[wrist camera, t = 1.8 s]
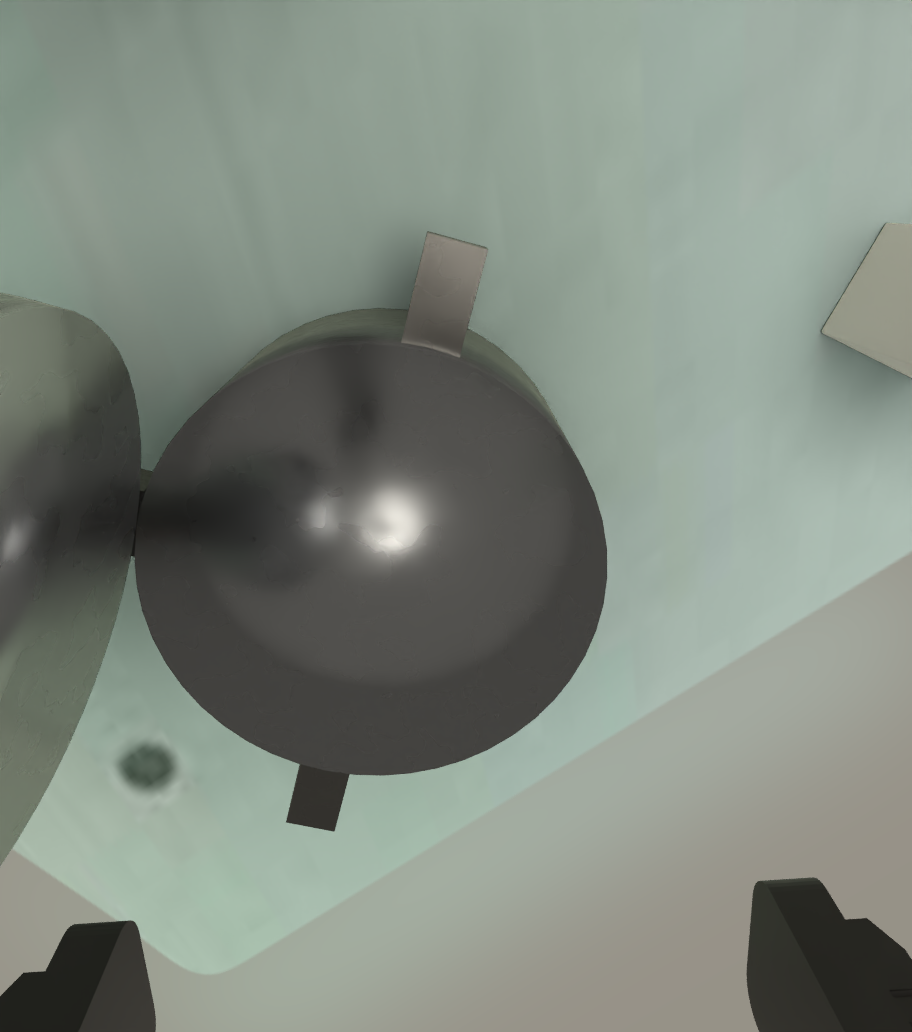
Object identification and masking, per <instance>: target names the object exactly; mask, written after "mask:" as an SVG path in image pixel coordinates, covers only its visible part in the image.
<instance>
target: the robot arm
mask: <svg viewBox="0 0 912 1032" xmlns="http://www.w3.org/2000/svg"><path fill="white" fill-rule="evenodd" d="M752 900H753V901H752V913H751V924H750V936H749V950H748V961H747V986H748V994H749V999H750V1004H751V1008H752V1012H753V1015H754V1018H755V1021H756V1025H757V1027H758V1030H759V1032H912V959H911V958H910V957H909V955H908V953H907V952H906V950H905V949H904V948H902V947H901V946H900V945H899V944H898V943H896V942H895V941H894V940H893V939H892V938H890V937H889V936H888V935H887V934H885V933H884V932H883V931H882V930H881V929H879V928H878V927H877V926H876V925H875V924H873V923H872V922H871V921H870V920H868V919H867V918H863V919H848V920H845V919H844V917H843V915H842V914H841V912H840V910H839V909H838V907H837V906H836V904H835V902H834V901H833V899H832V898H831V896H830V894H829V893H828V891H827V890H826V888H825V886H824V885H823V884H822V883H821V882H820V880H818V879H817V878H798V879H783V880H768V881H758V882H757V883H756V885H755V886H754V890H753V899H752ZM155 1030H156V1018H155V1009H154V1003H153V999H152V994H151V989H150V983H149V979H148V974H147V969H146V964H145V959H144V954H143V949H142V944H141V939H140V934H139V930H138V927H137V925H136V923H135V922H134V921H117V922H104V923H103V922H102V923H87V924H74V925H72V926H70V927H69V928H68V929H67V931H66V932H65V934H64V936H63V937H62V939H61V941H60V943H59V945H58V947H57V949H56V951H55V953H54V955H53V957H52V959H51V961H50V963H49V965H48V967H47V969H46V971H44V972H29V973H23V974H22V975H21V976H20V977H19V978H18V979H17V980H16V981H15V982H14V983H13V984H12V985H11V986H10V987H9V988H8V989H7V990H6V991H5V992H4V993H3V994H2V995H1V996H0V1032H155Z"/></svg>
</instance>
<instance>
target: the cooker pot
mask: <svg viewBox="0 0 912 1032" xmlns="http://www.w3.org/2000/svg"><path fill="white" fill-rule="evenodd" d="M487 252H488V249H487V248H486V247H484V246H480V245H476V244H473V243H469V242H465V241H462V240H458V239H454V238H451V237H447V236H444V235H440V234H436V233H433V232H429V231H427V235H426V239H425V244H424V248H423V252H422V256H421V260H420V265H419V269H418V273H417V277H416V281H415V285H414V290H413V294H412V298H411V302H410V306H409V310H401V309H385V308H375V309H362V310H352V311H347V312H342V313H338V314H333V315H328V316H325V317H323V318H320V319H317V320H314V321H312V322H309V323H306V324H304V325H302V326H300V327H298V328H296V329H294V330H292V331H290V332H288V333H286V334H284V335H283V336H281V337H280V338H278V339H277V340H275V341H274V342H273V343H271V344H270V345H268V346H267V347H266V348H264V349H263V350H261V351H260V352H259V353H258V354H257V355H256V356H255V357H254V358H253V359H252V360H251V361H250V362H249V363H248V364H247V365H245V366H244V367H243V368H242V369H241V370H240V371H239V372H238V373H237V374H236V375H235V376H234V377H233V378H232V379H231V380H230V381H228V382H227V383H226V384H225V385H224V386H223V387H222V388H221V389H220V390H219V391H218V392H217V393H216V394H215V395H214V396H212V397H211V398H210V399H209V400H208V401H207V402H206V403H205V404H204V405H203V406H202V407H201V408H200V409H199V410H198V411H197V412H196V413H195V414H194V415H193V416H191V417H190V418H189V419H188V420H187V422H186V423H185V424H184V425H183V427H182V428H181V429H180V430H179V432H178V433H177V434H176V436H175V437H174V438H173V439H172V441H171V442H170V443H169V445H168V446H167V448H166V450H165V452H164V453H163V455H162V457H161V459H160V460H159V462H158V464H157V466H156V467H155V469H154V471H153V472H152V471H148V470H144V469H141V477H140V493H139V505H138V513H137V521H136V529H135V535H134V541H133V547H132V553H131V556H135V569H136V583H137V588H138V593H139V597H140V602H141V606H142V611H143V614H144V617H145V619H146V622H147V625H148V627H149V630H150V633H151V635H152V638H153V640H154V642H155V644H156V646H157V647H158V649H159V651H160V653H161V655H162V657H163V659H164V661H165V662H166V664H167V665H168V667H169V668H170V670H171V671H172V672H173V674H174V675H175V677H176V678H177V679H178V681H179V682H180V684H181V685H182V686H183V687H184V688H185V690H186V691H187V692H188V693H189V694H190V695H191V696H192V697H193V698H194V699H195V700H196V701H197V703H198V704H199V705H200V706H201V707H202V708H203V709H205V710H206V711H207V712H208V713H209V714H210V715H212V716H213V717H214V718H215V719H216V720H218V721H219V722H220V723H221V724H222V725H224V726H225V727H227V728H228V729H230V730H231V731H233V732H234V733H236V734H237V735H239V736H240V737H242V738H243V739H245V740H246V741H248V742H250V743H252V744H254V745H256V746H258V747H260V748H262V749H264V750H266V751H268V752H270V753H272V754H274V755H277V756H279V757H282V758H285V759H287V760H290V761H293V762H295V763H298V764H300V766H299V770H298V774H297V778H296V782H295V787H294V791H293V795H292V799H291V803H290V808H289V812H288V816H287V821H286V822H287V823H292V824H298V825H303V826H308V827H313V828H319V829H324V830H329V831H335V827H336V823H337V819H338V816H339V812H340V808H341V804H342V800H343V797H344V793H345V789H346V785H347V782H348V778H349V774H353V775H394V774H407V773H414V772H419V771H425V770H430V769H435V768H439V767H443V766H446V765H449V764H452V763H456V762H459V761H462V760H465V759H467V758H469V757H472V756H474V755H476V754H479V753H481V752H483V751H486V750H488V749H490V748H492V747H493V746H495V745H497V744H499V743H500V742H502V741H504V740H505V739H507V738H509V737H511V736H512V735H514V734H515V733H516V732H518V731H519V730H520V729H522V728H523V727H524V726H526V725H527V724H528V723H530V722H531V721H532V720H534V719H535V718H536V717H537V716H538V715H539V714H540V713H541V712H542V711H543V710H544V709H545V708H546V707H547V706H548V705H549V704H550V703H551V702H552V701H554V699H555V698H556V697H557V696H558V694H559V693H560V692H561V691H562V689H563V688H564V687H565V686H566V684H567V683H568V682H569V681H570V679H571V678H572V676H573V675H574V673H575V671H576V670H577V668H578V667H579V665H580V663H581V662H582V660H583V658H584V657H585V655H586V652H587V650H588V648H589V646H590V643H591V641H592V639H593V636H594V634H595V632H596V629H597V625H598V622H599V618H600V615H601V611H602V608H603V604H604V596H605V589H606V581H607V547H606V540H605V534H604V527H603V521H602V517H601V514H600V511H599V507H598V504H597V501H596V497H595V494H594V492H593V489H592V487H591V485H590V483H589V481H588V479H587V477H586V474H585V472H584V470H583V468H582V466H581V464H580V462H579V460H578V459H577V457H576V455H575V453H574V451H573V449H572V448H571V446H570V444H569V442H568V440H567V439H566V437H565V435H564V433H563V431H562V429H561V428H560V426H559V424H558V422H557V420H556V419H555V417H554V415H553V413H552V411H551V409H550V408H549V406H548V404H547V402H546V401H545V399H544V398H543V396H542V395H541V393H540V392H539V390H538V389H537V387H536V386H535V384H534V383H533V382H532V380H531V379H530V378H529V377H528V376H527V375H526V373H525V372H524V371H523V370H522V369H521V368H520V366H519V365H518V364H517V363H515V362H514V361H513V360H512V359H511V358H510V357H509V356H508V355H506V354H505V353H504V352H503V351H502V350H501V349H500V348H498V347H497V346H495V345H494V344H492V343H491V342H489V341H488V340H486V339H485V338H483V337H482V336H480V335H479V334H477V333H475V332H473V331H471V330H469V329H467V327H468V324H469V320H470V316H471V312H472V309H473V305H474V301H475V297H476V293H477V290H478V286H479V282H480V278H481V275H482V271H483V267H484V263H485V259H486V256H487Z"/></svg>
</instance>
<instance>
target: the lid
mask: <svg viewBox="0 0 912 1032" xmlns="http://www.w3.org/2000/svg"><path fill="white" fill-rule="evenodd" d="M140 477H141V440H140V428H139V417H138V411H137V405H136V399H135V394H134V390H133V387H132V383H131V380H130V377H129V373H128V370H127V368H126V366H125V364H124V361H123V359H122V357H121V355H120V353H119V351H118V349H117V348H116V346H115V345H114V343H113V342H112V341H111V339H110V338H109V336H108V335H107V334H106V333H105V332H104V331H103V330H102V329H101V328H100V327H99V326H98V325H97V324H95V323H94V322H93V321H92V320H90V319H88V318H86V317H84V316H82V315H80V314H79V313H77V312H75V311H71V310H67V309H64V308H60V307H56V306H53V305H49V304H45V303H42V302H38V301H34V300H31V299H27V298H23V297H19V296H14V295H10V294H5V293H0V866H1V864H2V863H3V861H4V860H5V858H6V857H7V855H8V854H9V852H10V851H11V849H12V848H13V846H14V845H15V843H16V842H17V840H18V838H19V837H20V835H21V833H22V832H23V830H24V828H25V827H26V825H27V823H28V821H29V820H30V818H31V816H32V815H33V813H34V811H35V810H36V808H37V806H38V804H39V802H40V800H41V799H42V797H43V795H44V793H45V791H46V789H47V787H48V786H49V784H50V782H51V780H52V778H53V776H54V774H55V772H56V770H57V768H58V766H59V764H60V762H61V760H62V758H63V756H64V754H65V752H66V750H67V747H68V745H69V743H70V741H71V739H72V736H73V734H74V732H75V730H76V727H77V725H78V723H79V720H80V718H81V716H82V714H83V711H84V709H85V706H86V704H87V701H88V698H89V696H90V693H91V691H92V688H93V686H94V683H95V681H96V678H97V675H98V672H99V669H100V666H101V664H102V661H103V658H104V655H105V652H106V649H107V646H108V643H109V640H110V636H111V633H112V630H113V627H114V623H115V620H116V617H117V613H118V609H119V605H120V601H121V598H122V594H123V590H124V586H125V581H126V577H127V572H128V568H129V563H130V558H131V553H132V547H133V541H134V535H135V529H136V521H137V513H138V505H139V493H140Z"/></svg>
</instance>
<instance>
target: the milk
mask: <svg viewBox="0 0 912 1032" xmlns="http://www.w3.org/2000/svg"><path fill="white" fill-rule="evenodd" d="M822 333H823V334H825V335H827V336H829V337H831V338H833V339H835V340H837V341H839V342H841V343H843V344H845V345H847V346H849V347H851V348H853V349H855V350H857V351H859V352H861V353H863V354H865V355H867V356H869V357H871V358H873V359H875V360H877V361H879V362H881V363H883V364H884V365H886V366H888V367H890V368H892V369H894V370H896V371H898V372H900V373H902V374H904V375H906V376H908V377H910V378H912V224H899V223H886V224H885V226H884V227H883V229H882V230H881V232H880V234H879V235H878V237H877V239H876V241H875V242H874V244H873V246H872V247H871V249H870V251H869V252H868V254H867V256H866V257H865V259H864V261H863V262H862V264H861V266H860V267H859V269H858V271H857V272H856V274H855V276H854V277H853V279H852V281H851V282H850V284H849V286H848V287H847V289H846V291H845V292H844V294H843V296H842V297H841V299H840V301H839V302H838V304H837V306H836V307H835V309H834V311H833V312H832V314H831V316H830V317H829V319H828V321H827V322H826V324H825V326H824V327H823V329H822Z"/></svg>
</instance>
